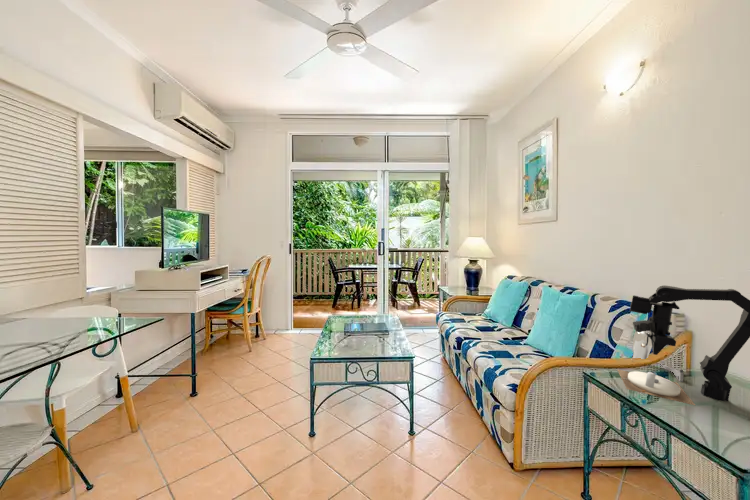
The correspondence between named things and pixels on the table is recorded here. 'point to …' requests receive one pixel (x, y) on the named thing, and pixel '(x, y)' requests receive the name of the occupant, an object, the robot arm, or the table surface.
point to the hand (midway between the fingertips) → (654, 354)
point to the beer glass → (641, 345)
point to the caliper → (675, 372)
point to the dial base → (681, 398)
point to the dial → (654, 383)
